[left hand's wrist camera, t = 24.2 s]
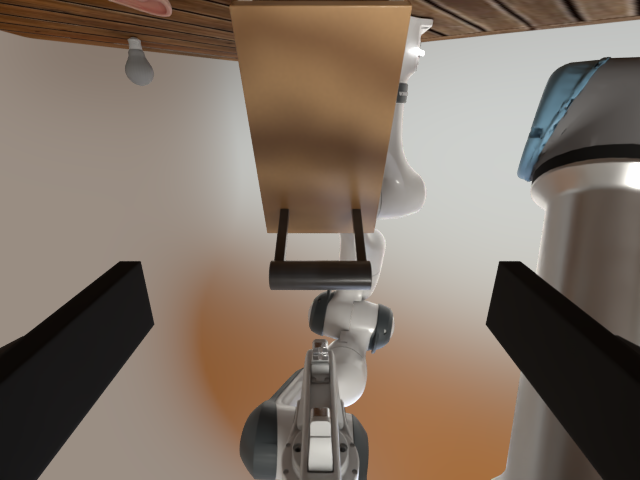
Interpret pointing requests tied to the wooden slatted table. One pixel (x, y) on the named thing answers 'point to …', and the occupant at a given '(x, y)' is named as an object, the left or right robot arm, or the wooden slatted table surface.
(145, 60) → the light bulb
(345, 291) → the right robot arm
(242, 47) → the lid
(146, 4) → the anatomical model
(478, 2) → the wooden slatted table surface
